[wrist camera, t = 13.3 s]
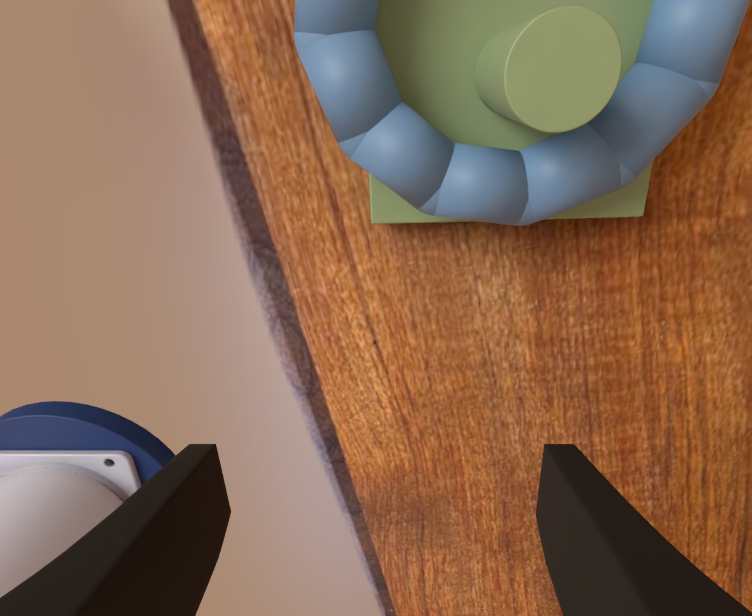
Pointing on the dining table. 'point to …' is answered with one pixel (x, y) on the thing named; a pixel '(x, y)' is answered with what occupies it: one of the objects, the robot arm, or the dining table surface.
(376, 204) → the peg stand
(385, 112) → the ring
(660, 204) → the dining table surface
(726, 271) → the dining table surface
